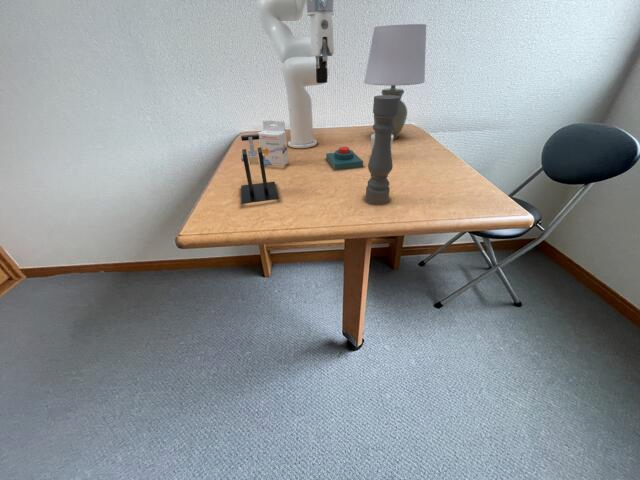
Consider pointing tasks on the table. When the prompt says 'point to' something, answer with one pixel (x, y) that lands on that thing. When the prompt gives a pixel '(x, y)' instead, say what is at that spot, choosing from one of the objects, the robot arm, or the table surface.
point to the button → (344, 150)
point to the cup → (374, 140)
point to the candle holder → (382, 148)
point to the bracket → (259, 190)
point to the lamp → (397, 62)
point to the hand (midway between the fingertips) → (321, 82)
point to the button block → (344, 160)
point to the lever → (251, 147)
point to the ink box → (274, 143)
